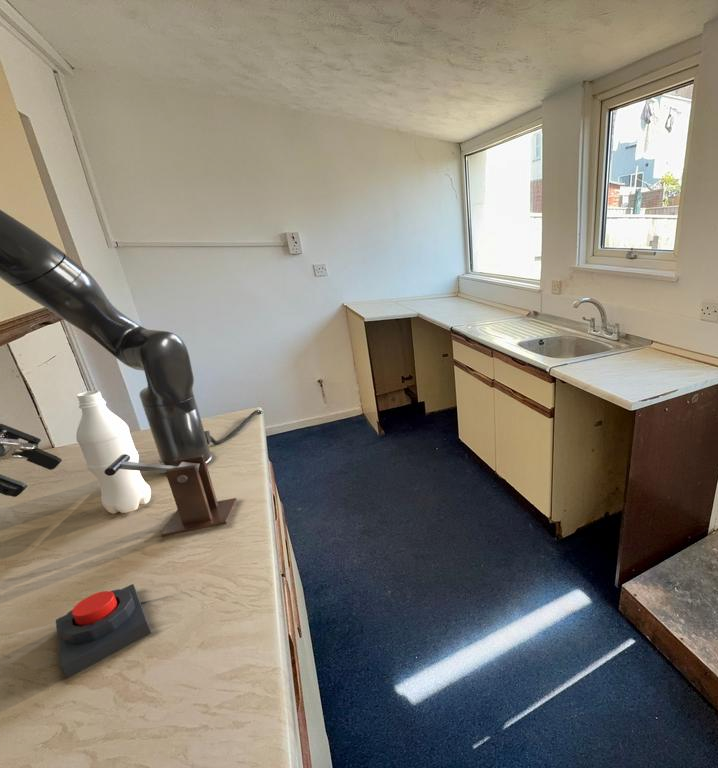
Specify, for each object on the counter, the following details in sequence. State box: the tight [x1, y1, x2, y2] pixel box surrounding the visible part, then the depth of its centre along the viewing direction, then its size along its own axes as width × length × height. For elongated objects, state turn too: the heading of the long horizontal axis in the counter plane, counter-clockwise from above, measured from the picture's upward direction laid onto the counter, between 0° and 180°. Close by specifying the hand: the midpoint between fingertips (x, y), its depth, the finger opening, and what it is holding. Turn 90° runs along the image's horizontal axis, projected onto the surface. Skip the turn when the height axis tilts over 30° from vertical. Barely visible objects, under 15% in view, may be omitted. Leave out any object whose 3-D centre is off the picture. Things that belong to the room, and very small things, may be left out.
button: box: [71, 590, 117, 626], centre depth 53 cm, size 4×4×2 cm
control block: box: [55, 583, 152, 679], centre depth 54 cm, size 10×8×4 cm
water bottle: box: [75, 390, 152, 515], centre depth 77 cm, size 7×7×25 cm
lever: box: [105, 454, 200, 476], centre depth 72 cm, size 12×5×2 cm, turn 111°
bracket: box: [160, 455, 238, 538], centre depth 75 cm, size 10×8×13 cm
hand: (41, 477), depth 66 cm, fingers open, 8 cm apart
